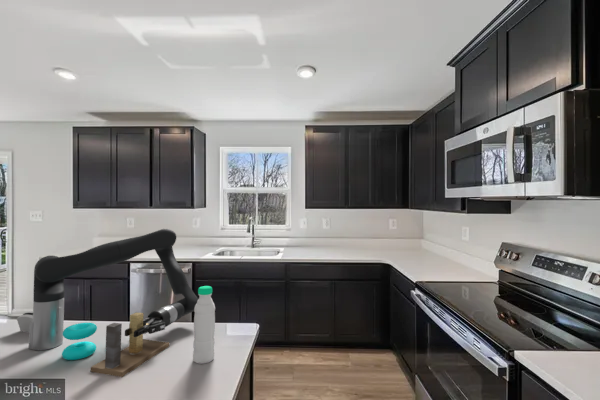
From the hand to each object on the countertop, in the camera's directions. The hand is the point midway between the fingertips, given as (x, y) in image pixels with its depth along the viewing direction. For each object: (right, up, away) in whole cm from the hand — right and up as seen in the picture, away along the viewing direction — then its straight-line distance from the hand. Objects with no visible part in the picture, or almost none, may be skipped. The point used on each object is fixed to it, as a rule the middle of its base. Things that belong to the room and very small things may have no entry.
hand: (130, 333), depth 110 cm
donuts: (-20, -9, +3) cm, 22 cm away
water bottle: (+25, -10, +1) cm, 27 cm away
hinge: (-50, -9, +22) cm, 56 cm away
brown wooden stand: (0, -9, +2) cm, 9 cm away
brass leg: (+1, -7, +3) cm, 8 cm away
